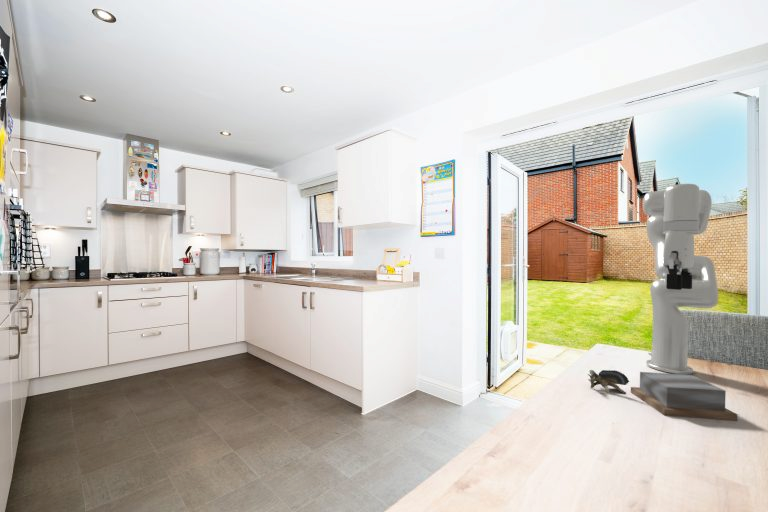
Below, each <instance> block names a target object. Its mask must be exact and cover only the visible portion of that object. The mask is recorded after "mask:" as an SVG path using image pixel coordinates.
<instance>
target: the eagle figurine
mask: <svg viewBox="0 0 768 512" xmlns="http://www.w3.org/2000/svg"><path fill="white" fill-rule="evenodd" d="M587 375H588V376H589V378H590V379H589V378H588V381H589V383H590V389H594V387H596V386H599V385H600V386H602V388H603V389H604V390H605V391H606V393H607V394H608V393H610V388H609V387H612V388H614V389H616V390H617V391H619V392H620V393H622V394H627V392H626V391H625V390H623V389H622V388H620V387H619V385H621V386H627V385H628V384H629V383H630V380H629V378H628V377H627V376H626V375H625V373H622V372H621V371H619V370H611V369H609V370H606V369H603V370H600V372H598V374H597V373H596V371H595V370H593V369H590V370H589V373H587Z"/></svg>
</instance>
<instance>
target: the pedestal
mask: <svg viewBox="0 0 768 512" xmlns="http://www.w3.org/2000/svg"><path fill="white" fill-rule="evenodd" d="M630 393H631V394H632V395H634V396H636V397H637V398H638V399H640V400H642V401H643V402H645V403H646V404H647V405H648V406H651V408H653V409H655V410H656V411H657V412H659V413H661V415H664V416H668V417H669V416H670V417H671V416H672V417H684V418H695V419H696V418H697V419H710V420H725V421H738V416H739V415H738V414H737V413H735V412H733V411H732V410H730V409H728V408H726V396H727V395H726V390H725V389H722V388H721V387H718V386H716V385H714V384H712V383H710V382H707V381H705V380H703V379H702V378H699V377H697V376H694V375H692V374H675V373H669V372H663V373H662V372H646V371H639V387H638V386H637V387H636V386H630Z"/></svg>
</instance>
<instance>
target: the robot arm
mask: <svg viewBox="0 0 768 512" xmlns="http://www.w3.org/2000/svg"><path fill="white" fill-rule="evenodd" d="M642 210H643V213H644V216H645V215H646V216H648V217H649V218H648V219H647V221H646V225H645V228H646V235H647V239H648V241H649V242H650V245H651V246H652V248H653V250H654V269H655V270H654V271H655V274H656V277H657V278H658V279H655V280H653V282H651V284H650V287H649V289H650V290H649V291H650V297H651V304H652V336H651V337H652V338H651V339H652V340H651V341H652V342H651V343H652V345H651V349H652V350H651V351H649V352H648V355H649V356H651V359H648V360H646V362H645V363H646V366H647V367H649V368H651V369H653V370H658V371H660V372H663V373H668V374H685V375H692V374H693V373H694V369H693V368H692V367H691V366H689V365H688V355H689V354H688V350H689V348H688V344H689V343H688V342H689V320H688V317H687V316H686V315H685V314H684V312H682V311H681V310H680V309H679V308H693V309H694V308H695V309H712V308H714V307H716V306H717V305H718V303H719V302H718V301H719V289H718V282H717V275H716V269H715V265H714V262H713V260H712V259H711V258H709V257H708V256H705V255H695V235H701V234H703V233H705V232H706V231H707V229H708V223H709V219H710V214H711V210H712V195H711V194H710V193H709V192H708V191H706V190H705V189H700V187H699V185H697V184H694V183H679V184H673V185H670V186H667V187H666V188H665V189H664V190H656V191H647V192H646V193H645V195H644V196H643V199H642Z"/></svg>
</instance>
